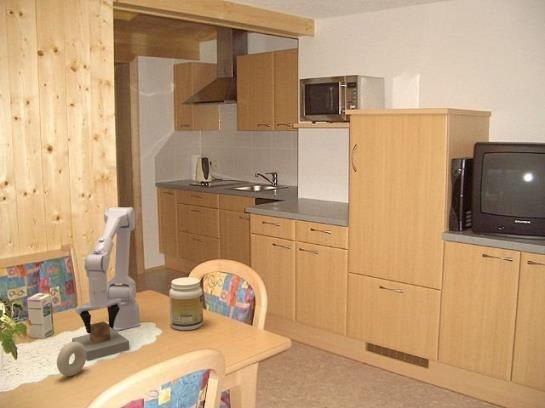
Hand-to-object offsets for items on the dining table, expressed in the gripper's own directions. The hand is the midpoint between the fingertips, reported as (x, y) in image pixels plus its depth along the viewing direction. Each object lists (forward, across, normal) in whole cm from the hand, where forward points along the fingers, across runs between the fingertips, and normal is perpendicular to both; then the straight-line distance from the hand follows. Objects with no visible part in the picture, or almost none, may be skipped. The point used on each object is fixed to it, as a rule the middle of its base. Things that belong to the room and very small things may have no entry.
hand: (100, 329), depth 183 cm
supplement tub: (+7, +33, +1) cm, 34 cm away
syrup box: (+7, -12, +24) cm, 28 cm away
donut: (+6, -14, -14) cm, 21 cm away
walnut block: (+3, 0, 0) cm, 3 cm away
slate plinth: (+6, 0, 0) cm, 6 cm away
